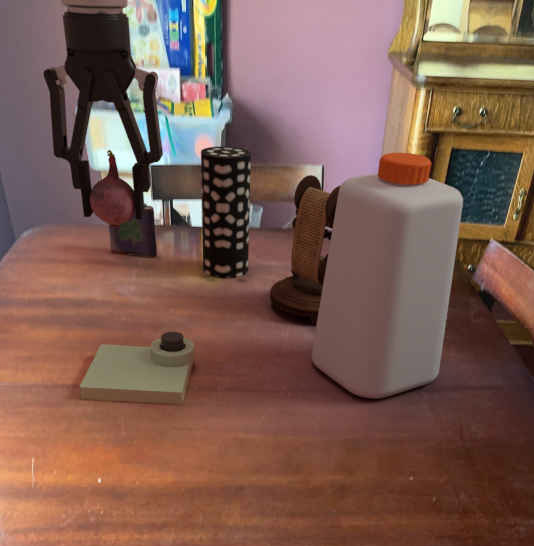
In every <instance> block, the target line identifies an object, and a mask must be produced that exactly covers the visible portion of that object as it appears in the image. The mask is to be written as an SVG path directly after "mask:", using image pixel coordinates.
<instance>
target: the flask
mask: <svg viewBox="0 0 534 546" xmlns="http://www.w3.org/2000/svg"><path fill="white" fill-rule="evenodd" d="M144 208H145V214H144V216H143V218H142V219H136V212H134V214H133V215H132V217H131V218H130V219H129V220H127V221H126V222H124V223H122V224H120V225H121V226H119V227H113V228H112V227H111V226H110V225H108V232H109V233H108V234H109V243H110V251H111V252H112V253H114V254H118V255H119V254H121V255H127V256H136V257H143V258H144V257H145V258H149V259H151V258H156V257H157V256H158V254H157V253H158V249H157V248H158V247H157V246H158V245H157V236H156V234H157V233H156V222H155V221H156V220H155V209H154V207H153V206H152V205H148V204H147V203H145V202H144ZM116 228H117V229H116Z"/></svg>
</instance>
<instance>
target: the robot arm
mask: <svg viewBox="0 0 534 546" xmlns="http://www.w3.org/2000/svg"><path fill="white" fill-rule="evenodd" d="M60 3H61V4H62V5H63V6H64V7H66V11H64V12H63V15H62V22H63V31H64V40H65V49H66V58H65V61H64V65H60V66H57V67H55V66H51V67H48V68H46V69H45V70H44V71H43V74H42V76H43V78H44V81H45V84H46V86H47V89H48V92H49V103H50V105H49V106H50V119H51V133H52V134H51V135H52V149H53V155H54V157H56V158H57V159H62V160H65V161H66V162H68V163H69V168H70V173H71V174H70V175H71V183H72V186H73V188H74V190H80V195H81V204H82V210H83V211H82V212H83V217H84V218H91V216H92V215H93V214H94V212H93V210H92V208H91V206H90V202H89V196H90V192H91V190H92V188H93V187H92V180H91V172H90V163H89V160H85V159H82V158H83V157H84V154H83V153H84V149H85V144H86V139H87V134H88V127H89V123H90V118H91V114H92V113H91V111H92V107H93V105H94V103H97V102H101V101H102V102H106V103H108V104H109V103H113V105H114V108H115V110H116V112H117V113H118V115H119V118H120V121H121V124H122V126H123V129H124V131H125V134H126V137H127V139H128V142H129V145H130V147H131V150H132V153H133V155H134V158H135V160H136V162H135V163H134V164H133V166H132V167H131V173H132V184H133V185H132V186H133V187H132V188H133V190H134V199H135V212H136V219H142V218H143V216H144V214H145V208H144V203H145V196H144V193H148V192H149V191H150V190H151V189H150V188H151V186H152V183H151V169H150V166H151V164H154V163H159V162H160V161H161V159H162V157H163V155H164V152H163V151H164V150H163V142H162V135H161V127H160V119H159V112H158V105H157V95H156V91H157V87H158V82H159V81H158V80H159V75H158V73H157V72H156V71H147V70H144V69H141V68H138V67H137V65H136V63H135V61H134V59H133V56H132V46H131V45H132V44H131V33H130V32H131V31H130V20H129V19H130V18H129V17H128V16H127V13H124V9H126V8H127V7H128V6H129V4H128V3H129V1H128V0H60ZM67 76H68V77H69V79H70V80H71V82H72V83H73V84H74V86H75V87H76V88H77V90H78V91H79V92H78V96H77V97H78V98H77V103H76V106H77V107H76V113H75V118H74V124H73V129H72V135H71V141H70V145H69V146H68V130H67V128H68V126H67V110H66V107H67V106H66V93H65V92H66V91H65V86H66V85H67ZM134 79H135V80H136V81H137V86H138V89H139V90H140V91H141V92H142V102H143V110H144V117H145V123H146V134H147V139H148V146H149V151H148V150H147V147H146V144H145V141H144V139H143V136H142V133H141V131H140V128H139V125H138V122H137V120H136V116H135V114H134V111H133V108H132V105H131V100H130V97H129V95H128V92H127V91H128V90H129V87H130V86H131V84H132V82H133V81H134Z"/></svg>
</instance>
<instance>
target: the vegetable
mask: <svg viewBox="0 0 534 546" xmlns="http://www.w3.org/2000/svg"><path fill="white" fill-rule="evenodd" d="M106 154H107V157H108V173H107V175H106V176H105V177H103V178H102V179H100V180H99V181H97V182H96V183H95V184H94V185H93V187H91V188H92V190H91V192H90V196H89V202H90V206H91V208H92V210H93V214H95V216H96V217H97V218H98V219H99V220H101V221H102V222H104V223H106V224H107V225H108V226H109V225H110V226H111V227H112V228H113V227H119V226H121V225H120V224H122V223H124V222H126V221H127V220H129V219H130V218H131V217H132V215H133V214H134V212H135V199H134V188H133V187H132V186H131V185H130V184H129V183H128V182H127V181H125V180H124V179H122V178H120V176H119V169H118V164H117V161H116V156H115V154H113V151H112V150H110V149H108V150H107V151H106ZM116 229H117V228H116Z"/></svg>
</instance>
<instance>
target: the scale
mask: <svg viewBox="0 0 534 546" xmlns="http://www.w3.org/2000/svg"><path fill="white" fill-rule="evenodd" d="M183 340H184V349H183V350H181V351H177V352H167V351H164V350H162V347H161V337H158V338H157V339H155V340H153V341H152V342H151V344H150V345H149V346H145V345H144V346H140V345H123V344H105V343H101V344H100V345H99V347H98V349H97V351H96V353H95V355H94V357H93V359H92V362H91V363H90V365H89V367H88V369H87V371H86V373H85V374H84V377H83V379H82V381H81V382H80V385H79V395H80V400H88V401H89V400H90V401H107V402H108V401H109V402H110V401H111V402H124V403H125V402H126V403H143V404H161V405H162V404H163V405H164V404H165V405H180V406H181V405H183V404H184V400H185V397H186V392H187V389H188V384H189V380H190V378H191V377H190V376H191V373H192V369H193V365H194V362H195V357H196V344H195V343H194V341H192V340H191V339H190V338H186V337H184V336H183Z"/></svg>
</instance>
